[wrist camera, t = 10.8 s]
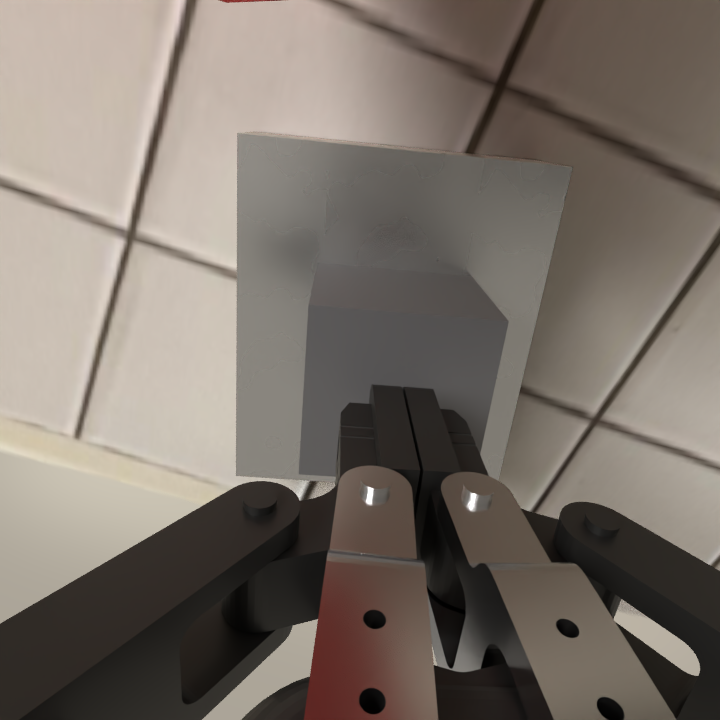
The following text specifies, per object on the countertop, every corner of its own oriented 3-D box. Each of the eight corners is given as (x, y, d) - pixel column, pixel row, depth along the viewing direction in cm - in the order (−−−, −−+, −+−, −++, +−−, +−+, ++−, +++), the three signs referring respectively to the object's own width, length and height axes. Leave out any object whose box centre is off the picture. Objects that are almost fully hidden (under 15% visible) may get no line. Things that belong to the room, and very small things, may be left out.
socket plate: (538, 160, 19) (582, 168, 16) (477, 447, 24) (500, 504, 20) (254, 131, 19) (232, 133, 15) (250, 431, 23) (232, 487, 20)
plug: (454, 255, 20) (508, 321, 14) (435, 375, 22) (473, 485, 15) (321, 243, 20) (308, 304, 13) (313, 366, 22) (298, 474, 15)
